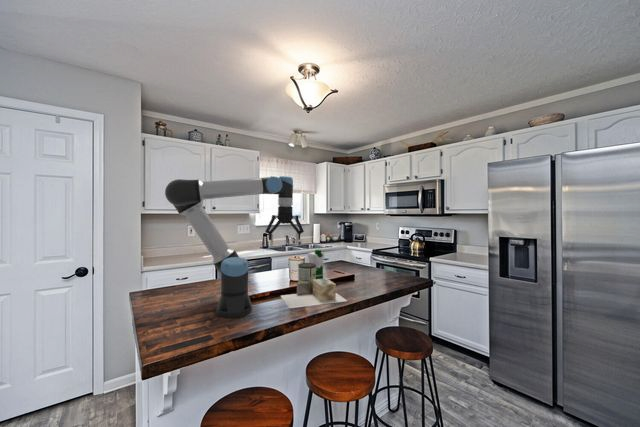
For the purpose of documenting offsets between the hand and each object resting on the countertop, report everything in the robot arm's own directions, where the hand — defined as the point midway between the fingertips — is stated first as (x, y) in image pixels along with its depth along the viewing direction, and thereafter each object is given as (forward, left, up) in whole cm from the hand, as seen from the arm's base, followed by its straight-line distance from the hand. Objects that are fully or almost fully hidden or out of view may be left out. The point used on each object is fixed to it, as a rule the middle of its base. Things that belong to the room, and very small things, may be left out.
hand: (284, 246), depth 145 cm
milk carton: (+26, +22, -27) cm, 43 cm away
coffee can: (+16, +8, -27) cm, 32 cm away
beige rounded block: (+19, -10, -26) cm, 33 cm away
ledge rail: (+17, -2, -27) cm, 31 cm away
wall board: (+13, -10, -27) cm, 31 cm away
